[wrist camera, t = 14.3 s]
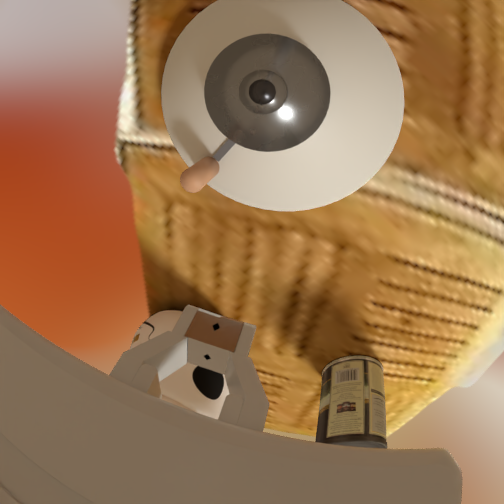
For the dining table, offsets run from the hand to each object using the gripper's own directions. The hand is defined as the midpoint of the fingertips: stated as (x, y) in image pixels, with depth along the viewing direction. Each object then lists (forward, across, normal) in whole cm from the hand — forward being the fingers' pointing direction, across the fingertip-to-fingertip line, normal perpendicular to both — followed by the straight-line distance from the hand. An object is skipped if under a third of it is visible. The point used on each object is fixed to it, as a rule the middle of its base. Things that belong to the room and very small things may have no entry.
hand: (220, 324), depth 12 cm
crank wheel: (+19, +2, -8) cm, 21 cm away
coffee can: (+19, -19, +27) cm, 38 cm away
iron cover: (+16, +2, -8) cm, 18 cm away
